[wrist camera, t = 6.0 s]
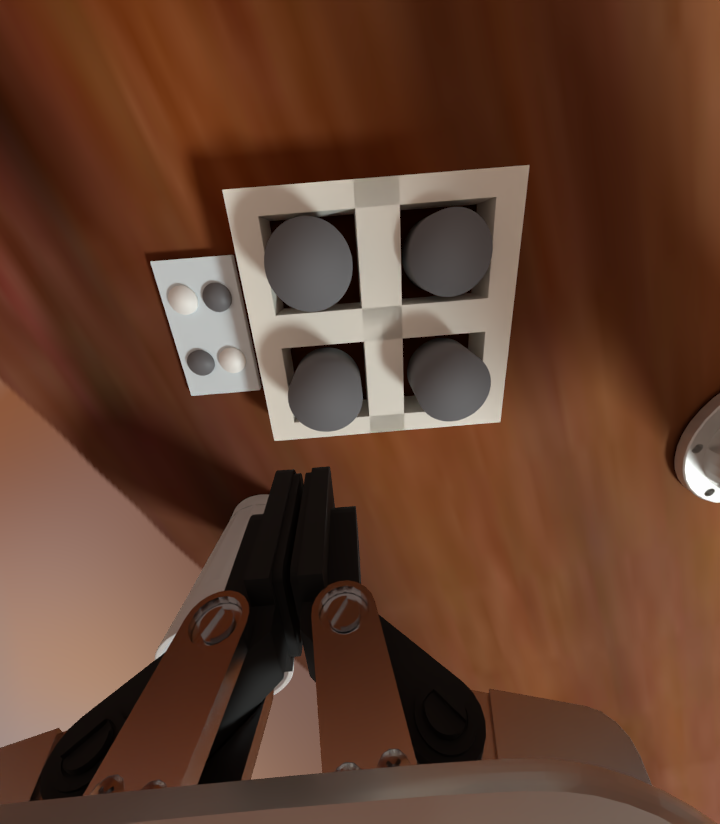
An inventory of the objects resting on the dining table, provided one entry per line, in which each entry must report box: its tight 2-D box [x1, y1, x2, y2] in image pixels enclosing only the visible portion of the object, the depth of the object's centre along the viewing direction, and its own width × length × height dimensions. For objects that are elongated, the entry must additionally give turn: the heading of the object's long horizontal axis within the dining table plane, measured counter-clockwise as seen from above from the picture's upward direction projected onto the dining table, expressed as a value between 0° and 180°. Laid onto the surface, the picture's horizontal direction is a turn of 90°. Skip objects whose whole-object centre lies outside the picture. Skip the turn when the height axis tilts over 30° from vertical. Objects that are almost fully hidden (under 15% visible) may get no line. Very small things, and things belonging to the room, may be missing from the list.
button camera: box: [264, 216, 353, 312], centre depth 19 cm, size 4×4×4 cm
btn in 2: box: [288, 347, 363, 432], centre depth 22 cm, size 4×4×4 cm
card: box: [150, 255, 261, 396], centre depth 23 cm, size 5×9×1 cm, turn 4°
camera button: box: [402, 207, 493, 297], centre depth 20 cm, size 4×4×4 cm
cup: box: [155, 494, 294, 695], centre depth 25 cm, size 8×8×12 cm
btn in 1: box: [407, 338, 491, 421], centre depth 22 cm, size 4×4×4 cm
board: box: [222, 165, 530, 441], centre depth 22 cm, size 16×15×3 cm
